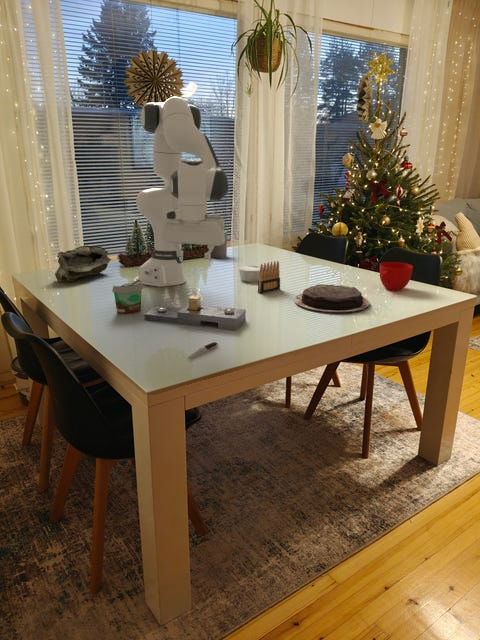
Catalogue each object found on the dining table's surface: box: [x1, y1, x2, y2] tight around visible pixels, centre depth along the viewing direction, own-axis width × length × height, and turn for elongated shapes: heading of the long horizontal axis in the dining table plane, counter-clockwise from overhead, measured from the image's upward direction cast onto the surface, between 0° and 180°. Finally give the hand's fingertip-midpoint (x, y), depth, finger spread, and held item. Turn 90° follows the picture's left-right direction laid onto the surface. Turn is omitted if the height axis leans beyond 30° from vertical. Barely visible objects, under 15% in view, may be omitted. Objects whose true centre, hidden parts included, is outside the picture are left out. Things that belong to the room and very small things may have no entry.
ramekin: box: [238, 265, 261, 283], centre depth 218 cm, size 11×11×5 cm
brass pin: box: [187, 295, 202, 312], centre depth 163 cm, size 3×3×8 cm
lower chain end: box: [143, 305, 208, 327], centre depth 166 cm, size 20×10×3 cm, turn 72°
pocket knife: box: [187, 341, 219, 360], centre depth 138 cm, size 14×1×2 cm, turn 145°
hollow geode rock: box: [54, 245, 112, 283], centre depth 219 cm, size 28×13×15 cm
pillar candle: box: [210, 229, 228, 259], centre depth 263 cm, size 10×10×15 cm
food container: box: [112, 279, 144, 315], centre depth 172 cm, size 12×6×10 cm, turn 148°
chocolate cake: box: [293, 283, 371, 315], centre depth 185 cm, size 28×28×7 cm
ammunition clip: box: [257, 260, 281, 295], centre depth 199 cm, size 11×2×12 cm, turn 130°
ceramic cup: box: [379, 261, 414, 292], centre depth 203 cm, size 13×17×10 cm
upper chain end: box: [177, 303, 247, 332], centre depth 162 cm, size 20×10×5 cm, turn 72°
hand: (193, 257), depth 158 cm, fingers open, 8 cm apart
